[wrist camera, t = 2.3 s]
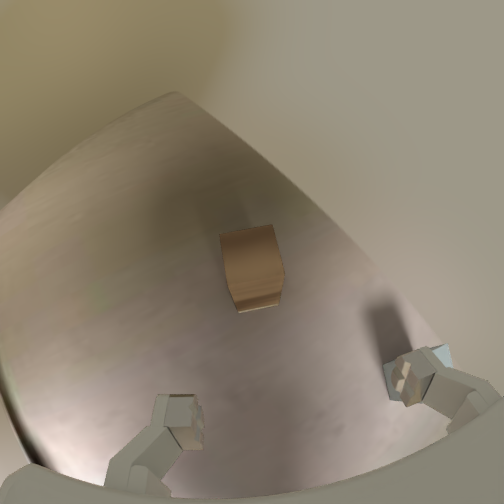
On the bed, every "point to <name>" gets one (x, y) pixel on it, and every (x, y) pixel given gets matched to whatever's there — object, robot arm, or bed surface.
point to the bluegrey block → (394, 395)
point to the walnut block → (253, 267)
